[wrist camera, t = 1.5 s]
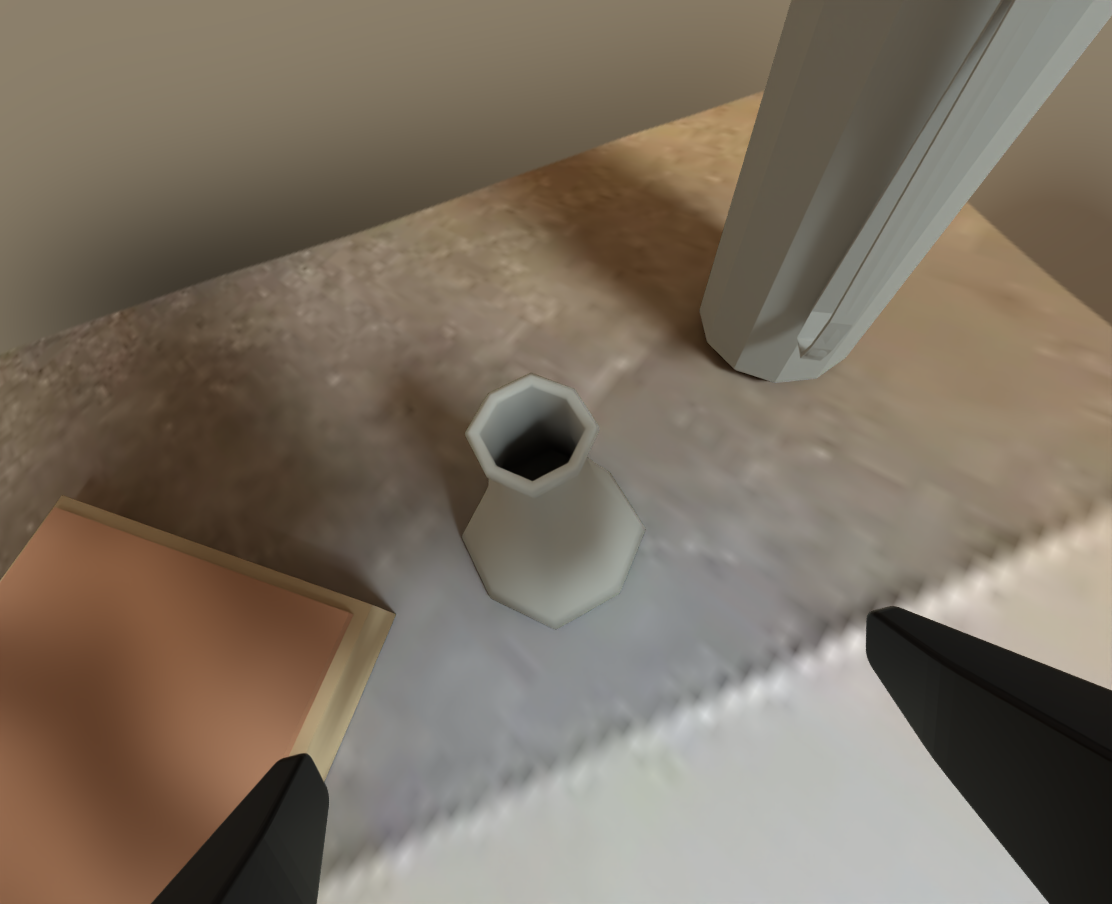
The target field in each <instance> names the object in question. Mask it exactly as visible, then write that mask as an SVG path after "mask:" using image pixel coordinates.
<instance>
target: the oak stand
mask: <svg viewBox="0 0 1112 904" xmlns="http://www.w3.org/2000/svg"><path fill="white" fill-rule="evenodd" d="M395 616H396V614H394V613H391V612H389V611H386V610H384V609H381V608H379V607H376V606H374V605H371V604H368V603H366V602H363V601H360V600H357V599H354V598H352V597H349V596H346V595H343V594H340V593H337V592H335V591H332V590H329V589H326V588H323V587H320V586H318V585H315V584H312V583H309V582H306V581H303V580H301V579H298V578H295V577H292V576H289V575H286V574H284V573H281V572H278V571H275V570H272V569H269V568H267V567H264V566H261V565H258V564H255V563H252V562H250V561H247V560H244V559H241V558H238V557H236V556H233V555H230V554H227V553H224V552H221V551H219V550H216V549H213V548H210V547H207V546H204V545H202V544H199V543H196V542H193V541H190V540H187V539H185V538H182V537H179V536H176V535H173V534H170V533H168V532H165V531H162V530H159V529H156V528H153V527H151V526H148V525H145V524H142V523H139V522H137V521H134V520H131V519H128V518H125V517H122V516H120V515H117V514H114V513H111V512H108V511H105V510H103V509H100V508H97V507H94V506H91V505H88V504H86V503H83V502H80V501H77V500H74V499H71V498H69V497H66V496H63V495H62V496H61V497H60V499H59V500H58V501H57V503H56V504H55V506H54V507H53V508H52V510H51V511H50V512H49V514H48V515H47V517H46V518H45V519H44V521H43V522H42V524H41V525H40V526H39V528H38V529H37V530H36V532H35V533H34V535H33V536H32V537H31V539H30V540H29V542H28V543H27V544H26V546H25V547H24V548H23V550H22V551H21V553H20V554H19V555H18V557H17V558H16V560H15V561H14V562H13V564H12V565H11V566H10V568H9V569H8V571H7V572H6V573H5V575H4V576H3V578H2V579H1V580H0V904H151V903H152V902H153V900H154V899H155V898H156V897H157V896H158V895H159V894H160V893H161V891H162V890H163V889H164V888H165V887H166V886H167V885H168V883H169V882H170V881H171V880H172V879H173V878H174V877H175V876H176V874H177V873H178V872H179V871H180V870H181V869H182V868H183V867H184V865H185V864H186V863H187V862H188V861H189V860H190V859H191V858H192V856H193V855H194V854H195V853H196V852H197V851H198V850H199V849H200V847H201V846H202V845H203V844H204V843H205V842H206V841H207V839H208V838H209V837H210V836H211V835H212V834H213V833H214V832H215V830H216V829H217V828H218V827H219V826H220V825H221V824H222V823H223V821H224V820H225V819H226V818H227V817H228V816H229V815H230V814H231V812H232V811H233V810H234V809H235V808H236V807H237V806H238V805H239V803H240V802H241V801H242V800H243V799H244V798H245V797H246V795H247V794H248V793H249V792H250V791H251V790H252V789H253V788H254V786H255V785H256V784H257V783H258V782H259V781H260V780H261V779H262V777H263V776H264V775H265V774H266V773H267V772H268V771H269V770H270V768H271V767H272V766H273V765H274V764H275V763H276V762H277V761H278V760H280V759H282V758H285V757H289V756H293V755H297V754H301V753H307V754H309V755H310V756H311V758H312V759H313V761H314V763H315V765H316V767H317V769H318V771H319V773H320V775H321V777H322V779H323V781H325V779H326V777H327V774H328V772H329V770H330V767H331V765H332V763H333V760H334V758H335V756H336V753H337V751H338V749H339V746H340V744H341V742H342V739H343V737H344V735H345V732H346V730H347V728H348V725H349V723H350V721H351V718H352V716H353V714H354V711H355V709H356V707H357V704H358V702H359V700H360V697H361V695H362V693H363V690H364V688H365V686H366V683H367V681H368V679H369V676H370V674H371V672H372V669H373V667H374V665H375V662H376V660H377V658H378V655H379V653H380V651H381V648H382V646H383V644H384V641H385V639H386V637H387V634H388V632H389V630H390V627H391V625H392V623H393V620H394V618H395Z"/></svg>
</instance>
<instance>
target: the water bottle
mask: <svg viewBox="0 0 1112 904" xmlns="http://www.w3.org/2000/svg"><path fill="white" fill-rule="evenodd" d="M1111 15H1112V0H791V3H790V7H789V10H788V14H787V17H786V20H785V23H784V27H783V30H782V34H781V37H780V40H779V44H778V47H777V51H776V54H775V57H774V61H773V64H772V68H771V71H770V74H769V78H768V81H767V84H766V88H765V91H764V94H763V98H762V101H761V104H760V108H759V111H758V115H757V118H756V121H755V125H754V128H753V131H752V135H751V138H750V141H749V145H748V148H747V152H746V155H745V158H744V162H743V165H742V168H741V172H740V175H739V179H738V182H737V185H736V189H735V192H734V195H733V199H732V202H731V206H730V209H729V212H728V216H727V219H726V222H725V226H724V229H723V233H722V236H721V239H720V243H719V246H718V249H717V253H716V256H715V259H714V263H713V266H712V270H711V273H710V276H709V280H708V283H707V286H706V290H705V293H704V297H703V300H702V303H701V307H700V310H699V311H700V315H701V319H702V323H703V327H704V331H705V336H706V340H707V342H708V343H709V344H710V346H711V347H712V348H713V349H714V350H715V351H716V352H718V353H719V354H720V355H721V356H722V357H723V358H724V359H725V360H726V361H727V362H728V363H729V364H730V365H731V366H732V367H733V368H734V369H735V370H736V371H740V372H743V373H746V374H749V375H753V376H756V377H759V378H762V379H765V380H768V381H771V382H774V383H777V382H787V381H798V380H808V379H816V378H817V377H819V376H820V375H822V374H823V373H825V372H826V371H827V370H829V369H830V368H832V367H833V366H835V365H836V364H837V363H839V362H840V361H842V360H843V359H844V358H846V356H847V355H848V354H849V353H850V351H851V350H852V349H853V347H854V346H855V345H856V344H857V342H858V341H859V340H860V338H861V337H862V336H863V335H864V333H865V332H866V331H867V329H868V328H869V327H870V326H871V324H872V323H873V322H874V320H875V319H876V318H877V317H878V315H879V314H880V313H881V311H882V310H883V309H884V308H885V306H886V305H887V304H888V302H889V301H890V300H891V299H892V297H893V296H894V295H895V293H896V292H897V291H898V290H899V288H900V287H901V286H902V284H903V283H904V282H905V281H906V279H907V278H908V277H909V275H910V274H911V273H912V272H913V270H914V269H915V268H916V266H917V265H918V264H919V263H920V261H921V260H922V259H923V257H924V256H925V255H926V254H927V252H928V251H929V250H930V248H931V247H932V246H933V245H934V243H935V242H936V241H937V239H938V238H939V237H940V235H941V234H942V233H943V232H944V230H945V229H946V228H947V226H948V225H949V224H950V223H951V221H952V220H953V219H954V217H955V216H956V215H957V214H958V212H959V211H960V210H961V208H962V207H963V206H964V205H965V203H966V202H967V201H968V199H969V198H970V197H971V196H972V194H973V193H974V192H975V190H976V189H977V188H978V186H979V185H980V184H981V183H982V181H983V180H984V179H985V178H986V176H987V175H988V174H989V172H990V171H991V170H992V169H993V167H994V166H995V164H996V163H997V162H998V161H999V160H1000V158H1001V157H1002V156H1003V154H1004V153H1005V152H1006V151H1007V149H1008V148H1009V147H1010V145H1011V144H1012V143H1013V142H1014V140H1015V139H1016V138H1017V136H1018V135H1019V134H1020V133H1021V131H1022V130H1023V129H1024V127H1025V126H1026V125H1027V124H1028V122H1029V121H1030V119H1031V118H1032V117H1033V116H1034V115H1035V113H1036V112H1037V111H1038V109H1039V108H1040V107H1041V105H1042V104H1043V103H1044V102H1045V100H1046V99H1047V98H1048V97H1049V95H1050V94H1051V93H1052V91H1053V90H1054V89H1055V88H1056V86H1057V85H1058V84H1059V82H1060V81H1061V80H1062V79H1063V77H1064V76H1065V75H1066V73H1067V72H1068V71H1069V70H1070V68H1071V67H1072V66H1073V64H1074V63H1075V62H1076V61H1077V59H1078V58H1079V57H1080V55H1081V54H1082V53H1083V52H1084V50H1085V49H1086V48H1087V46H1088V45H1089V44H1090V42H1091V41H1092V40H1093V39H1094V37H1095V36H1096V35H1097V34H1098V32H1099V31H1100V30H1101V28H1102V27H1103V26H1104V25H1105V23H1106V22H1107V21H1108V19H1109V18H1110V17H1111Z"/></svg>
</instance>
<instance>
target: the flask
mask: <svg viewBox="0 0 1112 904" xmlns="http://www.w3.org/2000/svg"><path fill="white" fill-rule="evenodd" d="M598 433H599V426H598V424H597V423H596V421H595V420H594V418H593V417H592V415H591V414H590V412H589V410H588V409H587V407H586V406H585V404H584V403H583V401H582V400H581V398H580V396H579V395H578V393H577V392H576V390H575V389H573V388H571V387H568V386H565V385H563V384H560V383H557V382H555V381H552V380H549V379H547V378H544V377H541V376H539V375H536V374H533V373H529V374H527V375H525V376H523V377H521V378H519V379H517V380H515V381H513V382H511V383H508V384H506V385H504V386H502V387H500V388H498V389H496V390H494V391H492V392H490V393H488V394H487V396H486V398H485V399H484V401H483V403H482V405H481V406H480V408H479V410H478V411H477V413H476V415H475V417H474V418H473V420H472V422H471V423H470V425H469V427H468V429H467V430H466V432H465V435H466V438H467V440H468V442H469V444H470V446H471V448H472V450H473V451H474V453H475V455H476V457H477V459H478V461H479V463H480V465H481V467H482V469H483V471H484V473H485V475H486V477H487V478H489V484H488V488H487V490H486V492H485V494H484V496H483V498H482V500H481V501H480V503H479V505H478V507H477V509H476V511H475V513H474V514H473V516H472V518H471V520H470V522H469V524H468V526H467V527H466V529H465V531H464V533H463V535H462V539H463V541H464V543H465V545H466V547H467V549H468V552H469V554H470V556H471V558H472V560H473V562H474V564H475V566H476V568H477V571H478V573H479V575H480V577H481V579H482V581H483V583H484V585H485V588H486V590H487V592H488V594H489V596H490V598H491V599H493V600H495V601H497V602H499V603H501V604H503V605H505V606H507V607H509V608H511V609H513V610H515V611H518V612H520V613H522V614H524V615H526V616H528V617H530V618H532V619H534V620H536V621H538V622H540V623H542V624H544V625H546V626H549V627H551V628H553V629H555V630H557V629H558V628H560V627H562V626H564V625H565V624H567V623H569V622H571V621H573V620H574V619H576V618H578V617H580V616H581V615H583V614H585V613H587V612H588V611H590V610H592V609H594V608H595V607H597V606H599V605H601V604H603V603H604V602H606V601H608V600H610V599H611V598H613V597H615V596H617V595H618V594H620V592H621V589H622V587H623V584H624V582H625V579H626V577H627V575H628V572H629V570H630V567H631V565H632V562H633V560H634V557H635V555H636V553H637V550H638V548H639V545H640V543H641V540H642V538H643V535H644V533H645V531H646V529H645V527H644V526H643V524H642V522H641V521H640V519H639V518H638V516H637V514H636V513H635V511H634V510H633V508H632V506H631V505H630V503H629V502H628V500H627V498H626V497H625V495H624V494H623V492H622V491H621V489H620V487H619V486H618V484H617V483H616V481H615V479H614V478H613V476H612V475H611V473H610V472H608V471H607V470H606V469H604V468H603V467H601V466H599V465H598V464H596V463H594V462H593V461H592V460H591V459H589V458H588V457H587V456H588V454H589V452H590V449H591V447H592V445H593V443H594V441H595V439H596V437H597V435H598Z"/></svg>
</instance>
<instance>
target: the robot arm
mask: <svg viewBox="0 0 1112 904" xmlns="http://www.w3.org/2000/svg"><path fill="white" fill-rule="evenodd" d="M866 654H867V658H868V661H869V663H870V665H871V667H872V668H873V670H874V671H875V673H876V674H877V676H878V677H879V679H880V680H881V682H882V683H883V685H884V686H885V688H886V689H887V691H888V692H889V694H890V695H891V697H892V698H893V700H894V701H895V703H896V704H897V706H898V707H899V709H900V710H901V712H902V713H903V715H904V716H905V718H906V719H907V721H908V722H909V724H910V725H911V727H912V728H913V730H914V731H915V733H916V734H917V736H918V737H919V739H920V740H921V742H922V743H923V745H924V746H925V748H926V749H927V751H928V752H929V753H930V755H931V756H932V758H933V759H934V760H935V762H936V763H937V764H938V765H939V767H940V768H941V769H942V771H943V772H944V773H945V775H946V776H947V777H948V778H949V780H950V781H951V782H952V783H953V785H954V786H955V787H956V788H957V789H958V791H959V792H960V793H961V794H962V796H963V797H964V798H965V799H966V801H967V802H968V803H969V804H970V806H971V807H972V808H973V809H974V811H975V812H976V813H977V814H978V816H979V817H980V818H981V819H982V821H983V822H984V823H985V824H986V826H987V827H988V828H989V829H990V831H991V832H992V833H993V834H994V836H995V837H996V838H997V839H998V840H999V842H1000V843H1001V844H1002V845H1003V847H1004V848H1005V849H1006V850H1007V852H1008V853H1009V854H1010V855H1011V857H1012V858H1013V859H1014V860H1015V862H1016V863H1017V864H1018V865H1019V867H1020V868H1021V869H1022V870H1023V872H1024V873H1025V874H1026V875H1027V877H1028V878H1029V879H1030V880H1031V882H1032V883H1033V884H1034V885H1035V887H1036V888H1037V889H1038V890H1039V892H1040V893H1041V894H1042V895H1043V896H1044V898H1045V899H1046V900H1047V901H1048V903H1049V904H1112V690H1109V689H1107V688H1104V687H1101V686H1099V685H1096V684H1094V683H1091V682H1089V681H1086V680H1084V679H1081V678H1078V677H1076V676H1073V675H1071V674H1068V673H1066V672H1063V671H1061V670H1058V669H1055V668H1053V667H1050V666H1048V665H1045V664H1043V663H1040V662H1038V661H1035V660H1032V659H1030V658H1027V657H1025V656H1022V655H1020V654H1017V653H1015V652H1012V651H1009V650H1007V649H1004V648H1002V647H999V646H997V645H994V644H992V643H989V642H986V641H984V640H981V639H979V638H976V637H974V636H971V635H969V634H966V633H963V632H961V631H958V630H956V629H953V628H951V627H948V626H946V625H943V624H940V623H938V622H935V621H933V620H930V619H928V618H925V617H923V616H920V615H918V614H915V613H912V612H910V611H907V610H905V609H902V608H899V607H896V606H889V607H885V608H881V609H877V610H873V611H871V612H869V614H868V615H867V620H866ZM328 808H329V794H328V790H327V787H326V785H325V783H324V781H323V779H322V777H321V775H320V773H319V771H318V769H317V767H316V765H315V763H314V761H313V759H312V758H311V756H310V755H309V754H307V753H301V754H297V755H293V756H289V757H285V758H282V759H280V760H278V761H277V762H276V763H275V764H274V765H273V766H272V767H271V768H270V770H269V771H268V772H267V773H266V774H265V775H264V776H263V777H262V779H261V780H260V781H259V782H258V783H257V784H256V785H255V786H254V788H253V789H252V790H251V791H250V792H249V793H248V794H247V795H246V797H245V798H244V799H243V800H242V801H241V802H240V803H239V805H238V806H237V807H236V808H235V809H234V810H233V811H232V812H231V814H230V815H229V816H228V817H227V818H226V819H225V820H224V821H223V823H222V824H221V825H220V826H219V827H218V828H217V829H216V830H215V832H214V833H213V834H212V835H211V836H210V837H209V838H208V839H207V841H206V842H205V843H204V844H203V845H202V846H201V847H200V849H199V850H198V851H197V852H196V853H195V854H194V855H193V856H192V858H191V859H190V860H189V861H188V862H187V863H186V864H185V865H184V867H183V868H182V869H181V870H180V871H179V872H178V873H177V874H176V876H175V877H174V878H173V879H172V880H171V881H170V882H169V883H168V885H167V886H166V887H165V888H164V889H163V890H162V891H161V893H160V894H159V895H158V896H157V897H156V898H155V899H154V900H153V902H152V903H151V904H317V898H318V890H319V882H320V873H321V865H322V857H323V849H324V841H325V833H326V825H327V816H328Z"/></svg>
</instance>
